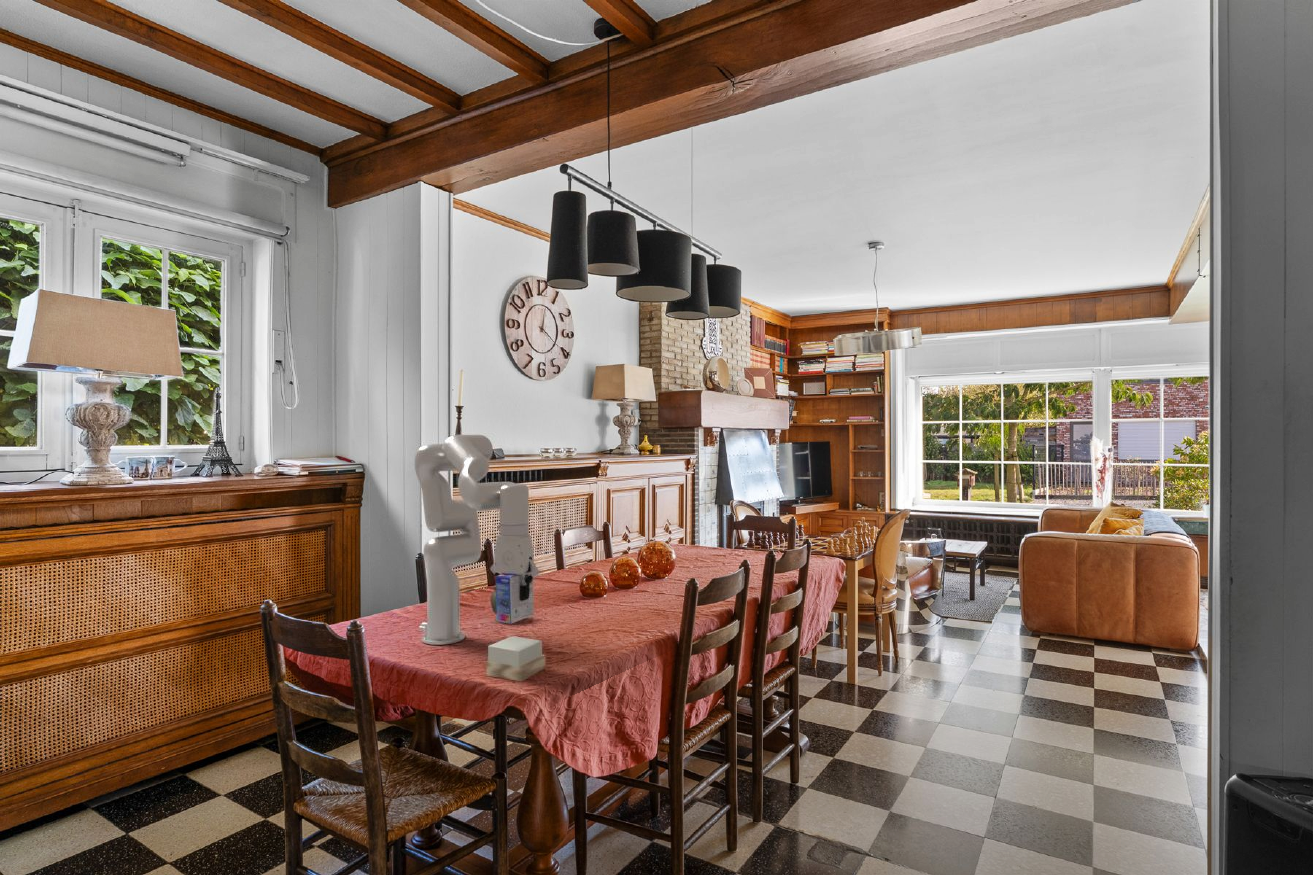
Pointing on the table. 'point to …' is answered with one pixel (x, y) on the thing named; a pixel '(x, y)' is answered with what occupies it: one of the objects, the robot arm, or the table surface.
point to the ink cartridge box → (512, 599)
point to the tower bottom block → (515, 669)
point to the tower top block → (515, 651)
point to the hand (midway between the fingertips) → (514, 597)
